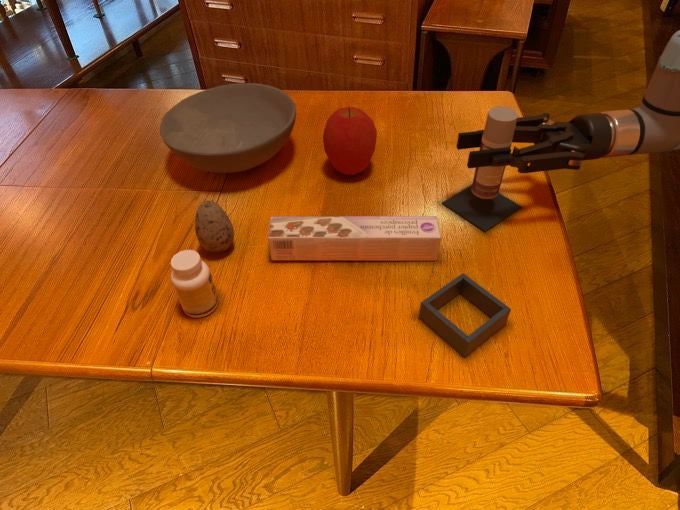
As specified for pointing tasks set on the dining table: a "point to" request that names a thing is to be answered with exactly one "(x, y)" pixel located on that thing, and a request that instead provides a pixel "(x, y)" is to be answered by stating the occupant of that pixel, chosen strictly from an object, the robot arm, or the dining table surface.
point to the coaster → (481, 208)
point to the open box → (475, 296)
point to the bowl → (229, 126)
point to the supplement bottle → (193, 284)
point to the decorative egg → (213, 227)
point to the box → (354, 237)
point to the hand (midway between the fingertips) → (463, 150)
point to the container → (494, 137)
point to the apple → (349, 140)
